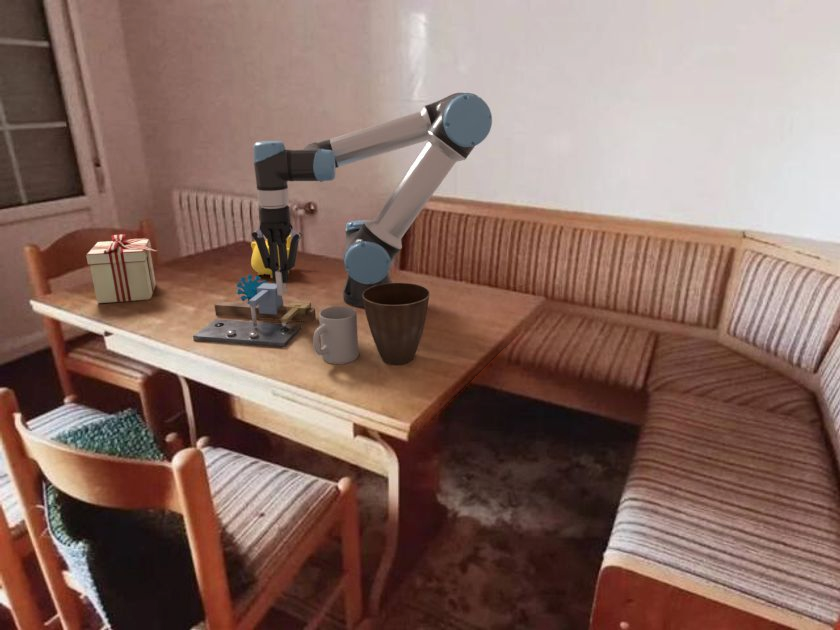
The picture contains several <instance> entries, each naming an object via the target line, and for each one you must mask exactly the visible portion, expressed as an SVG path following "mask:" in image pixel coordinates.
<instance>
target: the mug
mask: <svg viewBox="0 0 840 630" xmlns="http://www.w3.org/2000/svg"><path fill="white" fill-rule="evenodd" d="M318 319H319V320H318V321H319V326H318V327H317V328H316V329H315V330H314V332H313V342H312V343H313V348H314V352H315V353H316V354H317V355H318V356H321V358H322V360H324V361H325V362H326V363H328V364H333V365H345V364H348V363H351V362H354V361H355V360H357V359H358V357H359V354H360V353H359V352H360V351H359V339H358V338H359V335H358V334H359V333H358V320H357V319H358V317H357V311H356V309H355V308H353V307H350V306H346V305H345V306H344V305H336V306H330V307H326V308H324V309H322V310H320V311H319V315H318ZM320 345H321V347H320Z"/></svg>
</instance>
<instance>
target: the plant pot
mask: <svg viewBox="0 0 840 630" xmlns="http://www.w3.org/2000/svg"><path fill="white" fill-rule="evenodd" d="M362 297H363V303H364V307H363V308H364V312H365V316H366V320H367V324H368V327H369V330H370V334H371V337H372V339H373V342H374V344H375V347H376V349H377V351H378V354H379V356H380V359H381V360H382V361H383V362H384V363H386V364H388V365H391V366H392V365H394V366H400V365H402V366H403V365H406V364H409V363H411V362H412V361H413V360H414V358H415V356H416V353H417V351H418V348H419V345H420V342H421V340H422V336H423V332H424V328H425V325H426V320H427V319H426V318H427V313H428V308H429V301H430V300H429V299H430V291H429V290H428V288H426V287H424V286H422V285H419V284H416V283H409V282H392V283H386V284H380V285H375V286H372V287H370V288H368V289H366V290H365V291H364V292H363V293H362Z"/></svg>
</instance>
